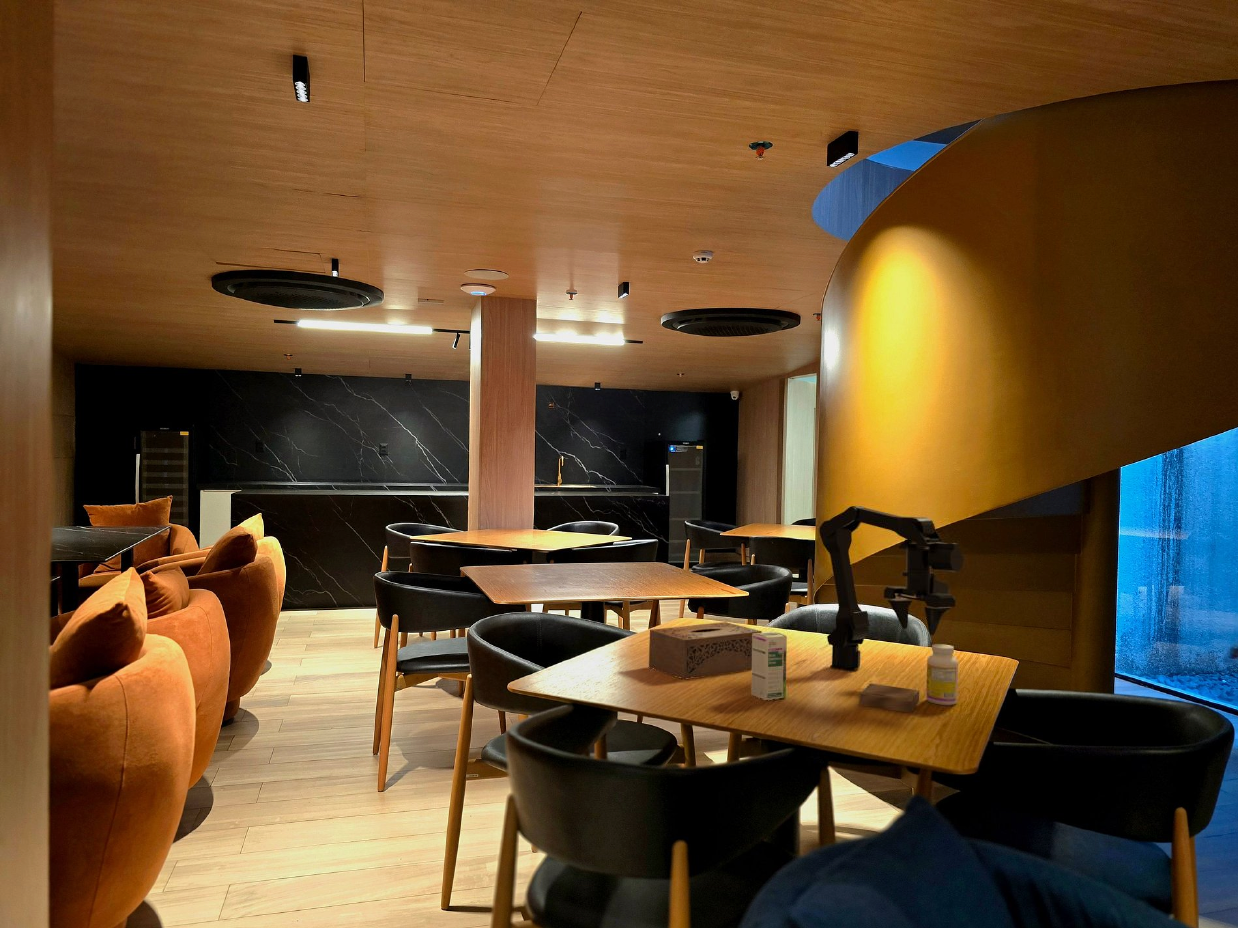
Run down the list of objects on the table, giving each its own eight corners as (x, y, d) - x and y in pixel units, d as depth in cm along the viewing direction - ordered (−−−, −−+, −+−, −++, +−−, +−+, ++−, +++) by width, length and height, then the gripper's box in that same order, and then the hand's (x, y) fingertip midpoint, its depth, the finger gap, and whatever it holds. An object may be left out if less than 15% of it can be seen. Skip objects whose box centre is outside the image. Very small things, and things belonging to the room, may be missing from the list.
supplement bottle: (932, 696, 199) (933, 641, 199) (961, 701, 195) (962, 646, 195) (921, 701, 194) (923, 645, 194) (951, 707, 190) (953, 650, 190)
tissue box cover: (683, 680, 208) (684, 640, 208) (648, 668, 220) (649, 629, 220) (760, 669, 222) (761, 631, 222) (724, 657, 234) (725, 621, 234)
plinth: (859, 704, 190) (860, 692, 190) (870, 693, 199) (870, 682, 199) (910, 712, 185) (911, 700, 185) (919, 701, 194) (919, 689, 194)
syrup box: (765, 701, 190) (767, 636, 190) (750, 694, 195) (752, 631, 196) (786, 698, 193) (788, 635, 193) (770, 692, 198) (771, 630, 198)
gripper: (972, 571, 204) (972, 636, 204) (916, 564, 221) (915, 624, 221) (937, 572, 199) (937, 639, 199) (882, 565, 216) (882, 626, 216)
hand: (918, 631), depth 209 cm, fingers open, 9 cm apart
